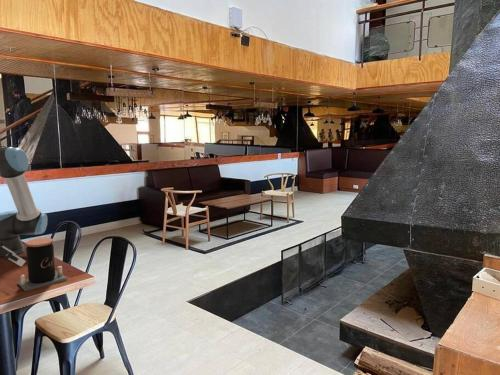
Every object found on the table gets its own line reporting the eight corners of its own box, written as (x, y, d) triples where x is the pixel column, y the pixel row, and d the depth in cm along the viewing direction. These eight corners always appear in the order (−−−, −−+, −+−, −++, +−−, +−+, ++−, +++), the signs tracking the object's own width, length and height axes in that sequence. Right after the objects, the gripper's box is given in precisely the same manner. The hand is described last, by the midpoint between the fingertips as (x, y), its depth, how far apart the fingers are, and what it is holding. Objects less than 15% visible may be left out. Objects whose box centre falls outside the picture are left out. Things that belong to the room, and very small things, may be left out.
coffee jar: (44, 285, 160) (41, 245, 157) (22, 283, 161) (19, 243, 159) (60, 275, 170) (58, 238, 167) (40, 274, 172) (38, 237, 169)
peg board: (25, 291, 156) (24, 279, 155) (17, 283, 163) (16, 272, 163) (66, 280, 168) (66, 269, 168) (58, 273, 176) (57, 263, 175)
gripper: (-42, 234, 151) (3, 260, 164) (-29, 247, 135) (21, 275, 148) (-28, 219, 154) (16, 246, 167) (-13, 230, 138) (34, 259, 151)
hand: (18, 259), depth 158 cm, fingers open, 13 cm apart
